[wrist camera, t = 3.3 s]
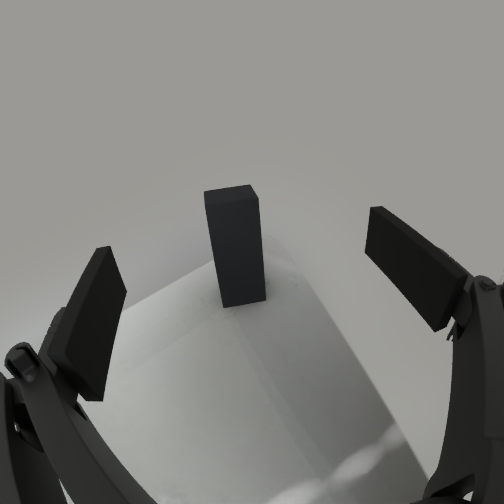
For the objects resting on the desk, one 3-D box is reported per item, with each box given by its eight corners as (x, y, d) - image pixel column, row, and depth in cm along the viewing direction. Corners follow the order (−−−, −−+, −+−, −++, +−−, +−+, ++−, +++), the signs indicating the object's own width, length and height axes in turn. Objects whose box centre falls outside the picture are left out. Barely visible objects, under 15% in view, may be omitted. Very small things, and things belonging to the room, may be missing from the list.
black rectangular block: (258, 278, 29) (250, 184, 24) (266, 300, 26) (258, 197, 21) (220, 285, 28) (203, 191, 23) (223, 308, 25) (204, 205, 20)
